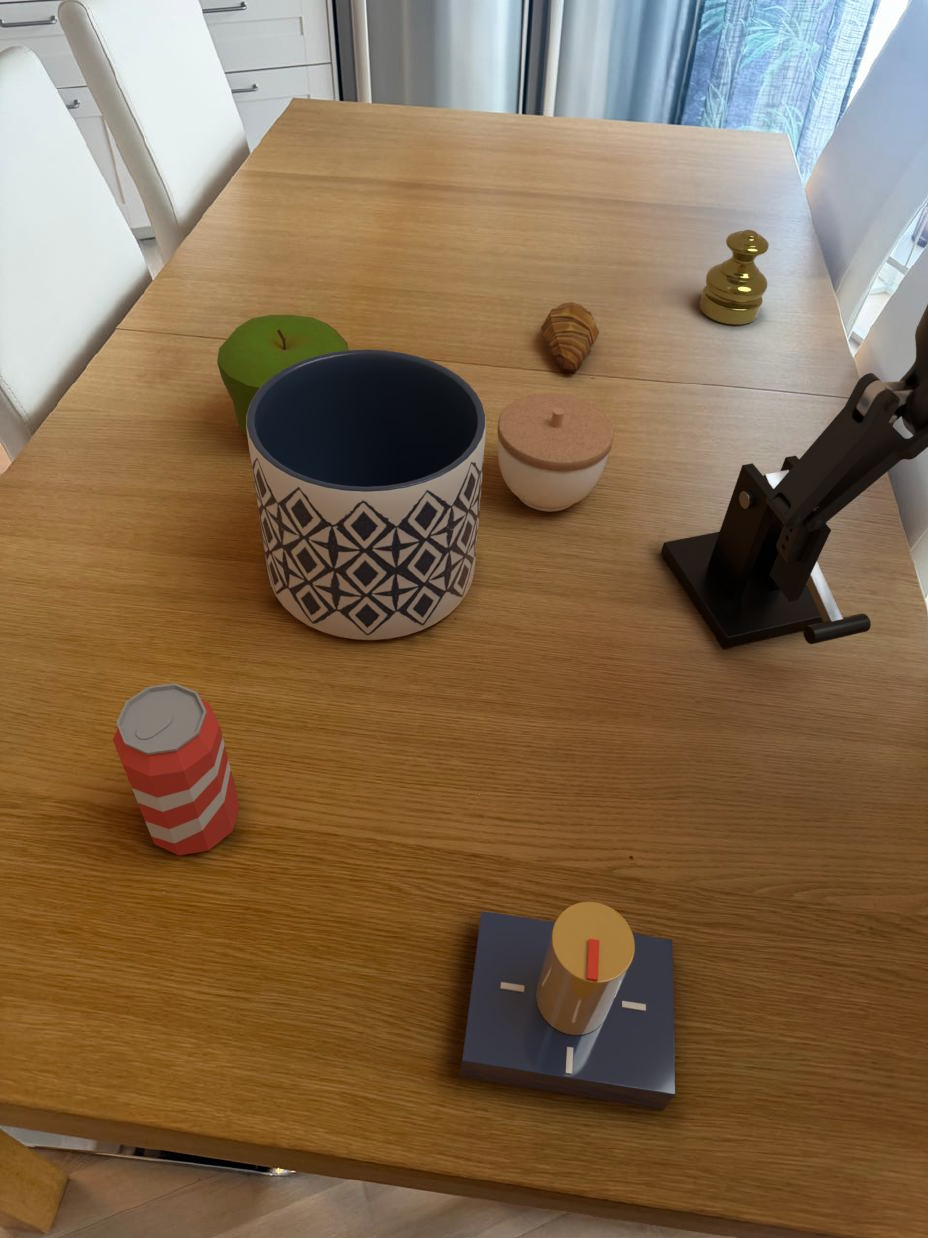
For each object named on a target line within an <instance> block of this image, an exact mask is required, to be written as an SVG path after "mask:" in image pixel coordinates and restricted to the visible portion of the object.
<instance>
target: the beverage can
mask: <svg viewBox="0 0 928 1238" xmlns="http://www.w3.org/2000/svg"><path fill="white" fill-rule="evenodd" d="M116 725H117V728H116V731H115V734H114V736H113V737H112V738H113V739H112V741H113V744H114V747H115V749H116V752H117V755H118V757H119V759H120V762H121V765H122V767H123V770H124V772H125V774H126V777H127V779H128V782H129V785H130V787H131V789H132V792H133V795H134V797H135V799H136V802H137V805H138V807H139V809H140V812H141V815H142V817H143V819H144V822H145V824H146V827H147V829H148V832H149V834H150V837H151V839H152V842H153V844H154V845H156V846H158V847H160V848H162V849H164V850H166V851H168V852H171V853H172V854H175V855H177V856H184V855H189V854H196V853H203V852H207V851H210V850H211V849H213V848H214V847H215V846H216V845H217V844H219V843H221V841H223V840H224V839H225V838H226V837H228V836H229V835H230V834H231V833H232V832H233V830H234V827H235V825H236V820H237V817H238V814H239V810H240V808H241V805H240V802H239V797H238V793H237V789H236V785H235V780H234V776H233V773H232V769H231V768H232V767H231V764H230V760H229V756H228V752H227V749H226V744H225V741H224V737H223V733H222V728H221V725H220V722H219V720H218V718H217V716H216V715H215V712H214V711H213V708H212V707H211V705H210V702H208V701H207V700H204V699H202V698H201V696H200V695H199V693H198V691H195V690H193V689H191V688H188V687H186V686H183V685H181V684H179V683H177V682H173V683H172V682H171V683H167V684H158V685H150V686H147V687H145V688H144V689H142V690H141V691H140V692H138V693H137V694H135V695H134V696H132V697H131V698H129V699H127V700H126V701H125V703H124V705H123V707H122V709H121V712H120V714H119V716H118V719H117V721H116Z"/></svg>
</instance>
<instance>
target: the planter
mask: <svg viewBox="0 0 928 1238" xmlns="http://www.w3.org/2000/svg"><path fill="white" fill-rule="evenodd" d="M486 417H487V416H486V411H485V407H484V404H483V403H482V401H481V399H480V397H479V396H478V394H477V392H476V391H475V390H474V389H473V388H472V386H471V385H470V384H469V383H468V382H467V381H466V380H465V379H463V378H462V377H461V376H460V375H459V374H457V373H455V372H454V371H452V370H450V369H449V368H448V367H445V366H443V365H441V364H440V363H437V362H435V361H432V360H429V359H427V358H424V357H421V356H417V355H414V354H410V353H405V352H400V351H393V350H386V349H349V350H346V351H338V352H332V353H327V354H322V355H318V356H315V357H311V358H308V359H305V360H302V361H300V362H298V363H295V364H293V365H291V366H288V367H287V368H285V369H283V370H282V371H280V372H278V373H277V374H275V375H274V376H273V377H271V378H270V379H269V380H268V381H266V382H265V383H264V384H263V385H262V387H261V388H260V389H259V390H258V391H257V392H256V394H255V396H254V397H253V399H252V401H251V403H250V405H249V408H248V412H247V415H246V429H247V436H246V437H247V442H248V450H249V458H250V464H251V471H252V477H253V484H254V485H253V486H254V491H255V498H256V505H257V511H258V519H259V524H260V530H261V531H260V532H261V538H262V544H263V550H264V551H263V552H264V557H265V562H266V563H265V564H266V569H267V575H268V578H269V579H268V580H269V584H270V587H271V589H272V590H273V593H274V595H275V598H277V600H278V601H279V603H280V604H281V605H282V606H283V608H284V609H285V610H287V611H288V612H289V613H290V614H291V615H292V616H293V617H294V618H295V619H297V620H298V621H300V622H302V623H303V624H305V625H306V626H308V627H310V628H313V629H315V630H317V631H320V632H321V633H324V634H328V635H332V636H334V637H338V638H345V639H349V640H358V641H359V640H360V641H362V640H363V641H379V640H390V639H395V638H396V639H397V638H401V637H405V636H409V635H411V634H414V633H417V632H421V631H423V630H426V629H427V628H429V627H431V626H433V625H435V624H437V623H438V622H440V621H442V620H443V619H445V618H446V617H447V616H449V615H450V614H451V613H452V612H453V611H454V610H455V609H456V608H457V607H458V606H460V604H461V603H462V601H463V600H464V598H465V597H466V596H467V594H468V592H469V590H470V588H471V585H472V583H473V579H474V576H475V568H476V557H477V546H478V536H479V521H480V512H481V511H480V510H481V500H482V499H481V497H482V486H483V472H484V459H485V448H486V447H485V446H486V430H487V418H486Z"/></svg>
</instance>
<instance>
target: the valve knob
mask: <svg viewBox="0 0 928 1238" xmlns="http://www.w3.org/2000/svg"><path fill="white" fill-rule="evenodd" d="M554 922H555V924H554V927H553V930H552V934H551V937H550V941H549V944H548V948H547V951H546V955H545V958H544V962H543V965H542V969H541V972H540V976H539V979H538V983H537V987H536V1001H537V1005H538V1008H539V1010H540V1012H541V1014H542V1016H543V1017H544V1019H545V1020H546V1021H547V1022H548V1023H549V1024H550V1025H551V1026H552V1027H554V1028H555V1029H557V1030H559V1031H561V1032H563V1033H566V1034H570V1035H583V1034H587V1033H590V1032H592V1031H594V1030H595V1029H597V1028H598V1027H599V1026H600V1025H601V1024H602V1023H603V1022H604V1020H605V1019H606V1017H607V1015H608V1013H609V1010H610V1008H611V1006H612V1004H613V1002H614V1000H615V997H616V995H617V993H618V991H619V989H620V987H621V984H622V982H623V980H624V978H625V976H626V974H627V971H628V969H629V967H630V965H631V963H632V960H633V957H634V953H635V942H634V937H633V934H634V933H633V931H632V929H631V927H630V925H629V923H628V922H627V920H626V919H625V918H624V916H622V915H621V914H620V913H619V912H618V911H617V910H616V909H614V908H612V907H610V906H608V905H606V904H604V903H601V902H595V901H583V902H577V903H574V904H572V905H570V906H568V907H567V908H565V909H564V910H563V911H562V912H561V913H560V914H559V915H558V916H557V918H556V920H555V921H554Z"/></svg>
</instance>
